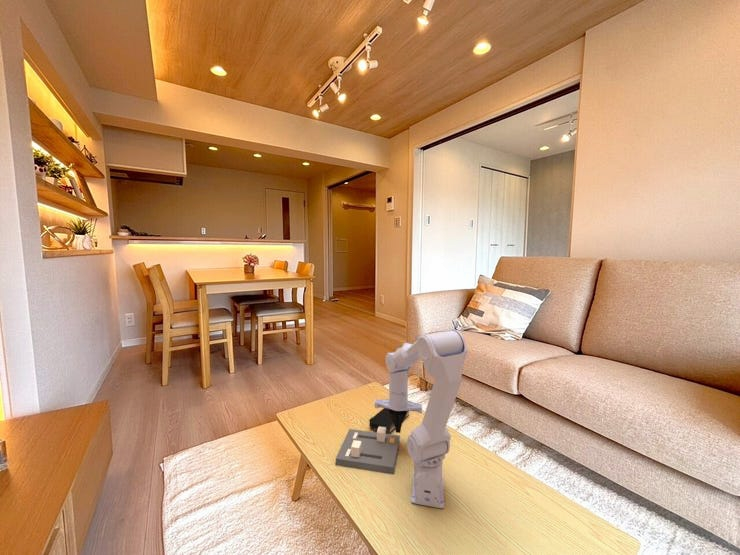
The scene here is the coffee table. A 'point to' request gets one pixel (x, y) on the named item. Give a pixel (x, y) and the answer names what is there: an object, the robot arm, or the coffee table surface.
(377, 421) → the black sponge
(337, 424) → the coffee table surface
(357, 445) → the block
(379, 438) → the block
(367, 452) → the grey flat block
